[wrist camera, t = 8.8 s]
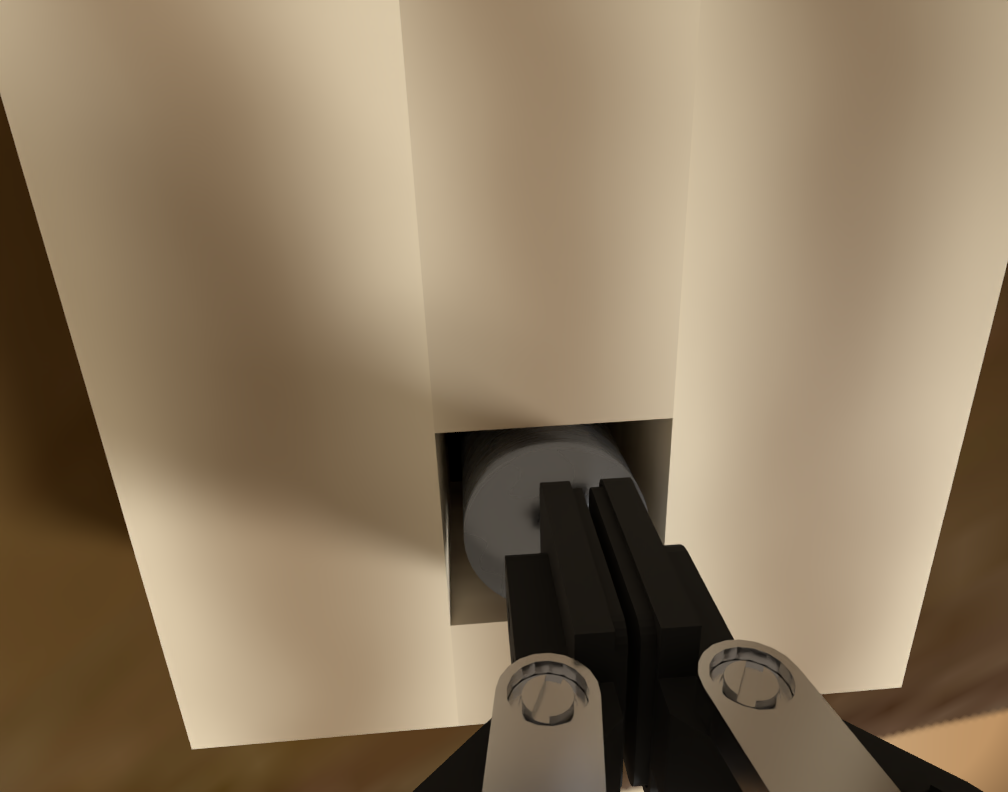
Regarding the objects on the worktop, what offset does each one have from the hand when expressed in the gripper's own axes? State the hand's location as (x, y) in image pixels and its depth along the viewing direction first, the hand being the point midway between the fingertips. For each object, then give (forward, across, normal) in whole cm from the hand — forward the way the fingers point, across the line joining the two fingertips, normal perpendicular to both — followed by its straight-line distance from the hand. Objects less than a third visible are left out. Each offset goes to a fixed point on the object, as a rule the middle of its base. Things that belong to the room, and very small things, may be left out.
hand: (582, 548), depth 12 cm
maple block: (+7, 0, -6) cm, 9 cm away
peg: (+6, 0, 0) cm, 6 cm away
